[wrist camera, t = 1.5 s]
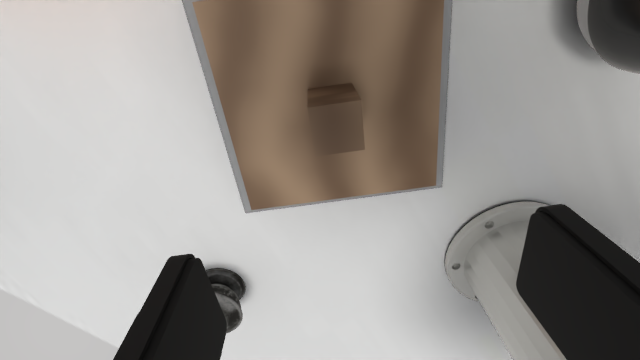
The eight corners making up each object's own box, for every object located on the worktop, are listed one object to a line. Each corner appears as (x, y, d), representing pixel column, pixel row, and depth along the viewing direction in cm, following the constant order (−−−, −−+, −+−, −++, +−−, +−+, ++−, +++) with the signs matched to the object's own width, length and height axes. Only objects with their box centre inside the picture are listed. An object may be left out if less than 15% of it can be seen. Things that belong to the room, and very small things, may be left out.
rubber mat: (453, -56, 21) (455, -57, 20) (440, 185, 29) (442, 187, 29) (179, -13, 21) (178, -13, 21) (245, 211, 30) (245, 213, 30)
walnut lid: (439, -36, 21) (482, -49, 16) (431, 179, 29) (459, 218, 23) (197, 2, 22) (162, 1, 16) (253, 202, 29) (241, 246, 24)
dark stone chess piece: (180, 279, 34) (122, 404, 23) (226, 258, 33) (188, 379, 22) (214, 312, 36) (176, 438, 26) (258, 293, 35) (238, 417, 25)
